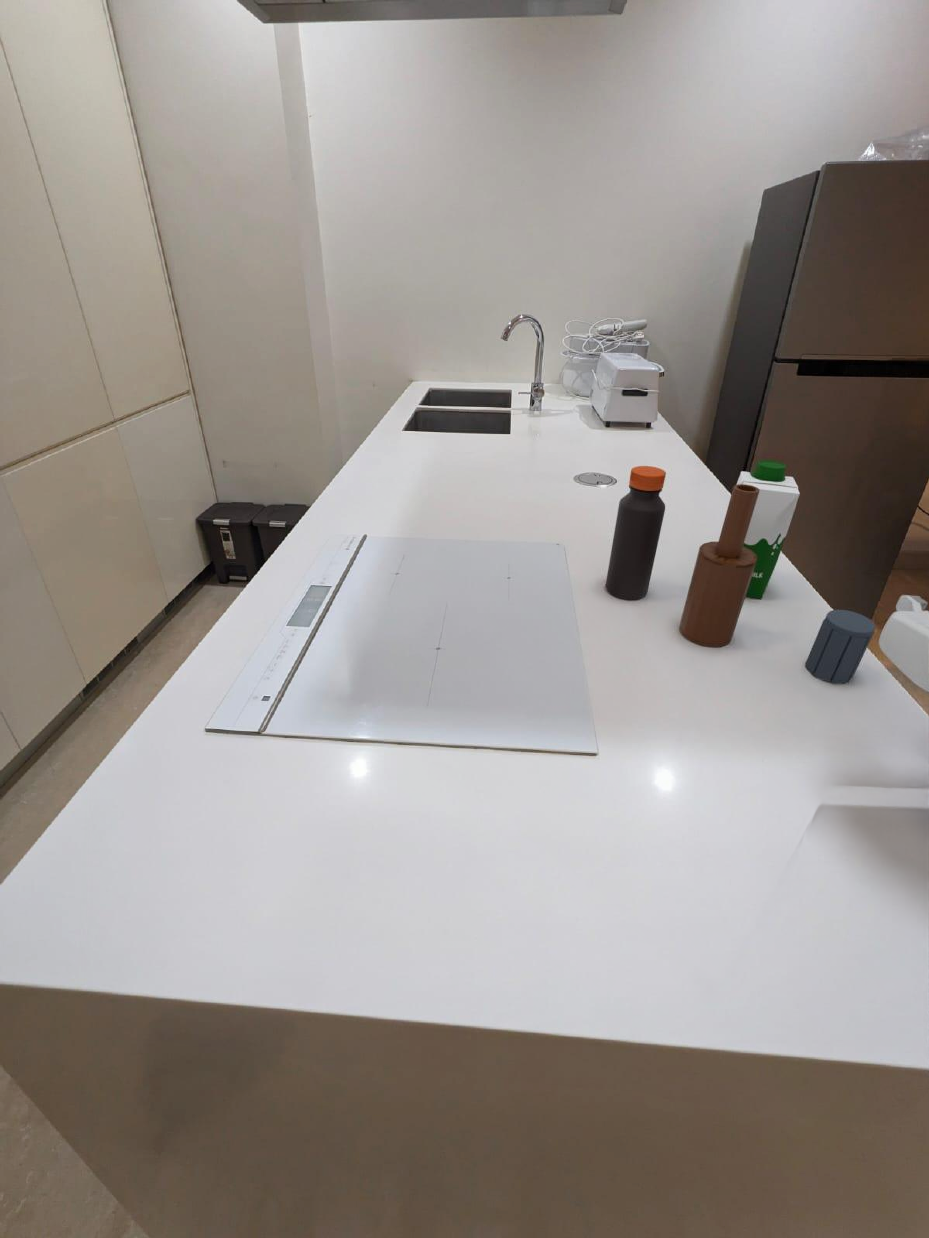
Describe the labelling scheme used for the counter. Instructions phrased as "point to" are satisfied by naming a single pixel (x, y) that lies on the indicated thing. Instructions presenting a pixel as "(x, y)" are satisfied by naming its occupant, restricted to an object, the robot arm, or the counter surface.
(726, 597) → the bottle
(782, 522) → the milk carton
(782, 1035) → the counter surface
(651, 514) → the vinegar
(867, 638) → the cylinder
